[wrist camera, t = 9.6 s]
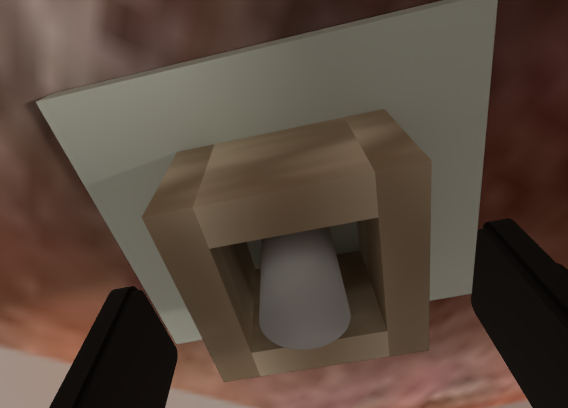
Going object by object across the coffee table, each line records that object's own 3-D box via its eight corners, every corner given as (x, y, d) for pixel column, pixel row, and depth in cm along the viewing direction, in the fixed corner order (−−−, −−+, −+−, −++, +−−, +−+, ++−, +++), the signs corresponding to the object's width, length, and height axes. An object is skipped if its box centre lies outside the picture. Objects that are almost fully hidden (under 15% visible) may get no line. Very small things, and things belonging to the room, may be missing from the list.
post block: (480, -9, 11) (668, -2, 6) (461, 278, 17) (543, 404, 12) (52, 93, 12) (-111, 174, 7) (180, 327, 18) (145, 461, 13)
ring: (384, 108, 12) (431, 160, 8) (393, 268, 15) (429, 350, 12) (177, 152, 12) (141, 217, 9) (233, 295, 16) (223, 381, 12)
